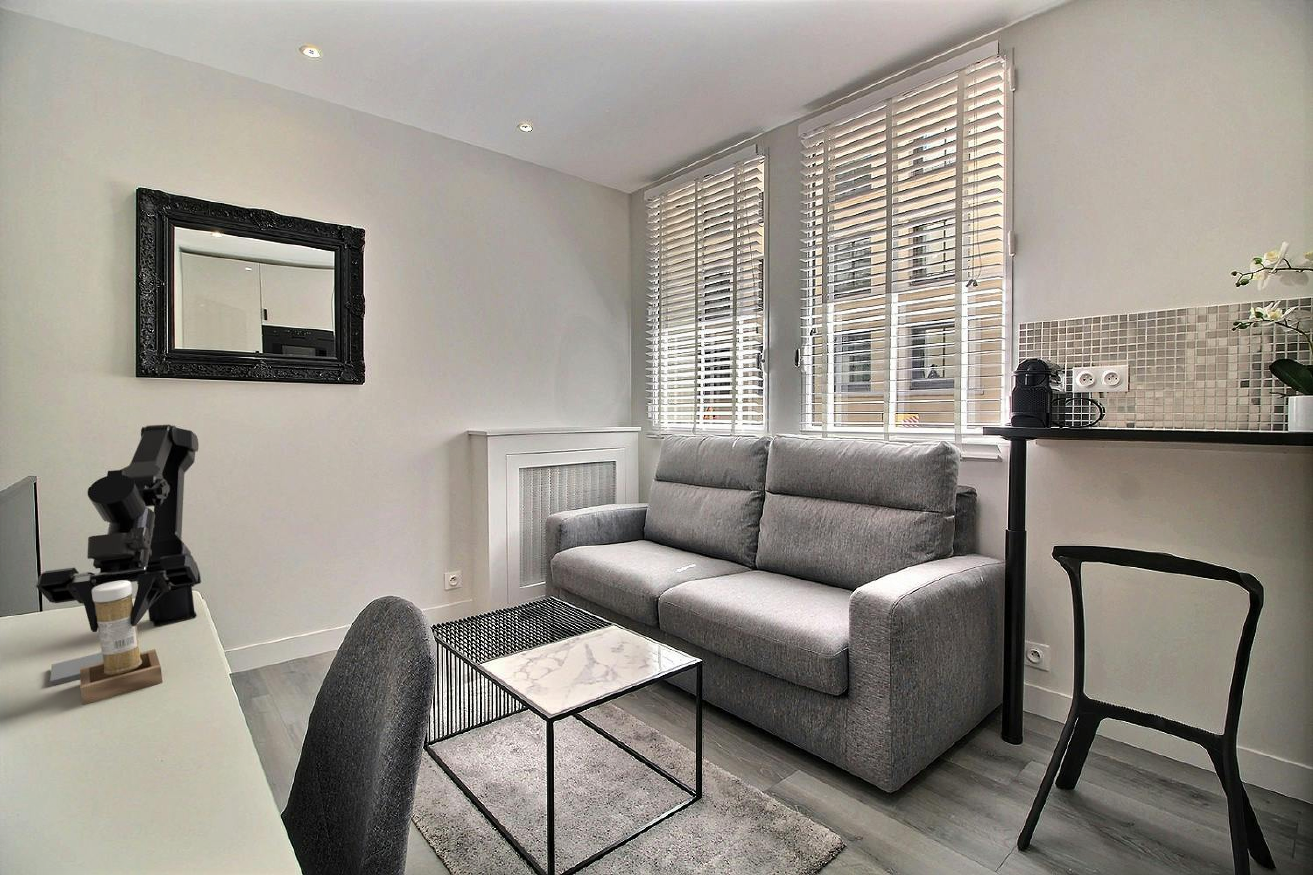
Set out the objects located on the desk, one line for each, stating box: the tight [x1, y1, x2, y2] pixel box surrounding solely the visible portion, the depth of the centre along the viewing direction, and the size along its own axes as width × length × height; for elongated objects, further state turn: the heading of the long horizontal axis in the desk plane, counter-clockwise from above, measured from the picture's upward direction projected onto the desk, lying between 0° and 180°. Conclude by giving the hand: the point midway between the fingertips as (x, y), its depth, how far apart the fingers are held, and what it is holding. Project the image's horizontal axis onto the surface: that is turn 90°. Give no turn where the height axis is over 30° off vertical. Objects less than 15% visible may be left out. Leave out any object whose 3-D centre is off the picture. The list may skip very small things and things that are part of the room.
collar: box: [79, 648, 164, 705], centre depth 96 cm, size 9×9×2 cm
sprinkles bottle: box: [92, 580, 142, 675], centre depth 96 cm, size 5×5×14 cm
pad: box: [49, 651, 103, 687], centre depth 102 cm, size 10×8×1 cm
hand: (113, 627), depth 95 cm, fingers closed on sprinkles bottle, 4 cm apart
